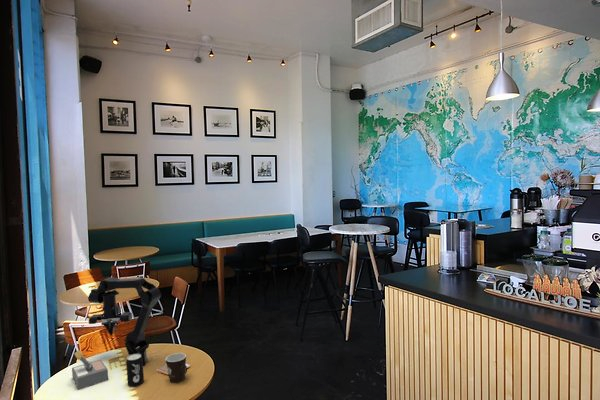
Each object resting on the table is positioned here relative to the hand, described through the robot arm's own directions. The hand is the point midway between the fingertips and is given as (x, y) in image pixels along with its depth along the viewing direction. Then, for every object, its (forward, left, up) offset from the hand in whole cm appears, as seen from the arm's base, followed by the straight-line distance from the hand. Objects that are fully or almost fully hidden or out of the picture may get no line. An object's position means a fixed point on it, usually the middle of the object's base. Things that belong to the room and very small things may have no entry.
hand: (111, 334), depth 199 cm
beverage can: (-18, +25, -13) cm, 34 cm away
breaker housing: (+4, +18, -13) cm, 22 cm away
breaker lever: (+4, +18, -7) cm, 19 cm away
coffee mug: (-36, +26, -13) cm, 46 cm away
